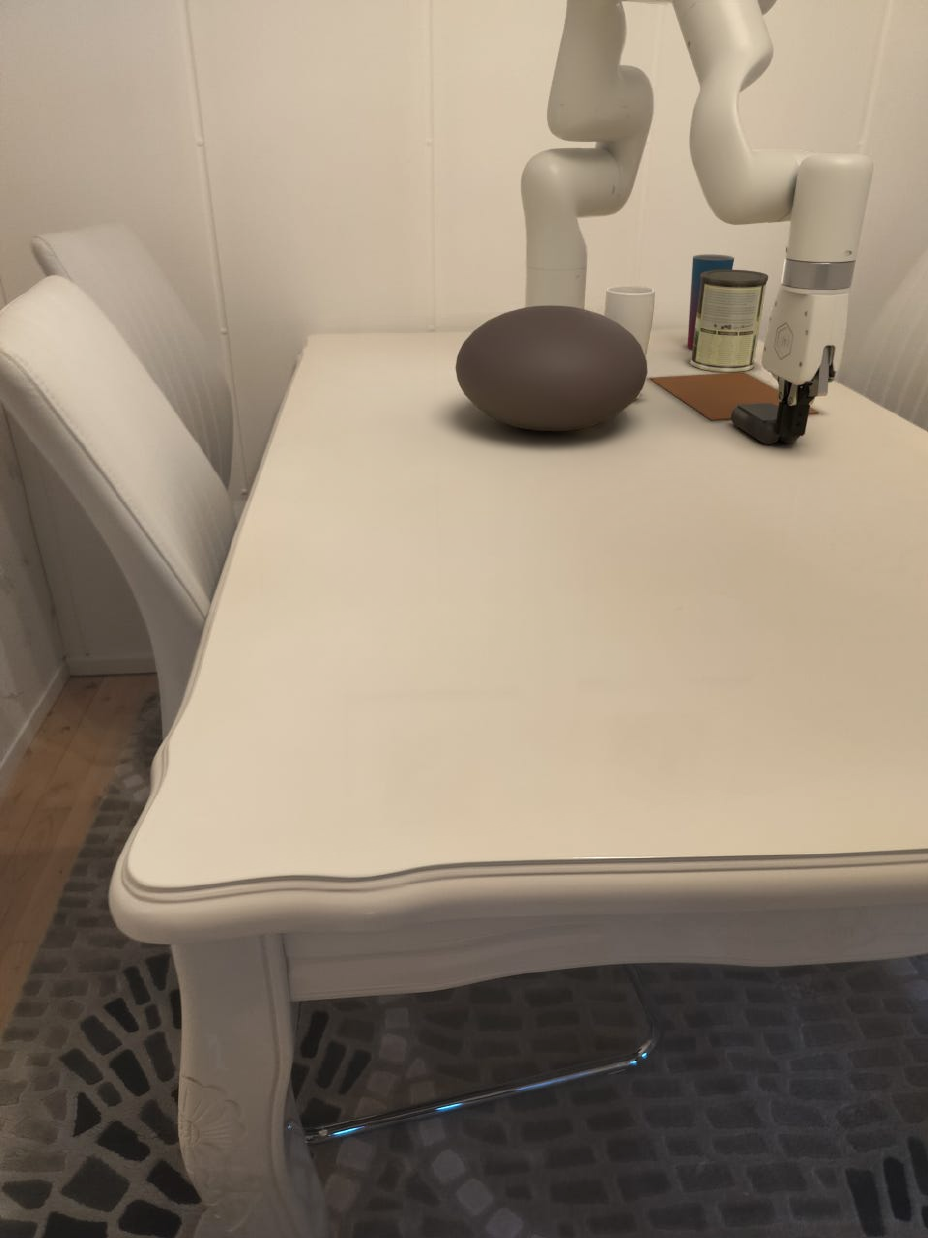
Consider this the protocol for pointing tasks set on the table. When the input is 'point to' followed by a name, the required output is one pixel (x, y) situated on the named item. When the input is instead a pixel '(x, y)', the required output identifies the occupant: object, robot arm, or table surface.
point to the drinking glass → (632, 311)
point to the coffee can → (728, 320)
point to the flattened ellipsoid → (551, 368)
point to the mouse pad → (719, 392)
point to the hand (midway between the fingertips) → (789, 434)
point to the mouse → (759, 421)
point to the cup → (699, 266)
